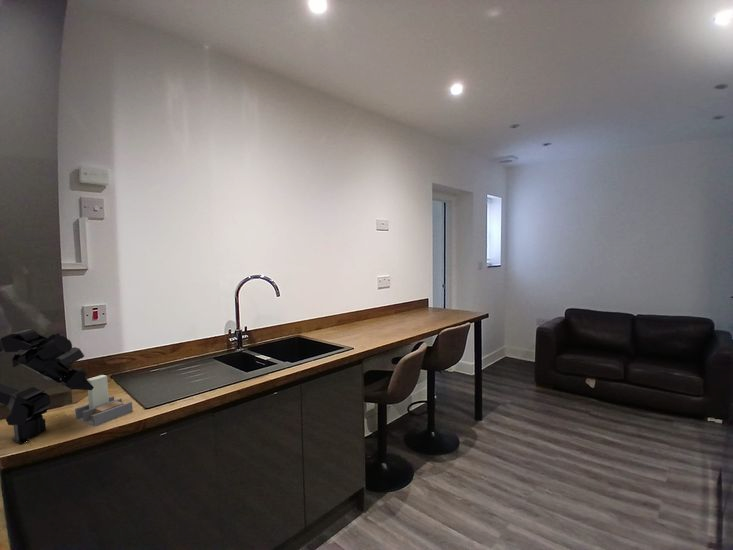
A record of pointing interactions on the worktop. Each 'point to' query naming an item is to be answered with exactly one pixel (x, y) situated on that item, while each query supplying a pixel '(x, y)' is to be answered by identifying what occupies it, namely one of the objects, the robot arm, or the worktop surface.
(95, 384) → the pale upright slab
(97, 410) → the offcuts
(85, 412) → the rack
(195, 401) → the worktop surface
